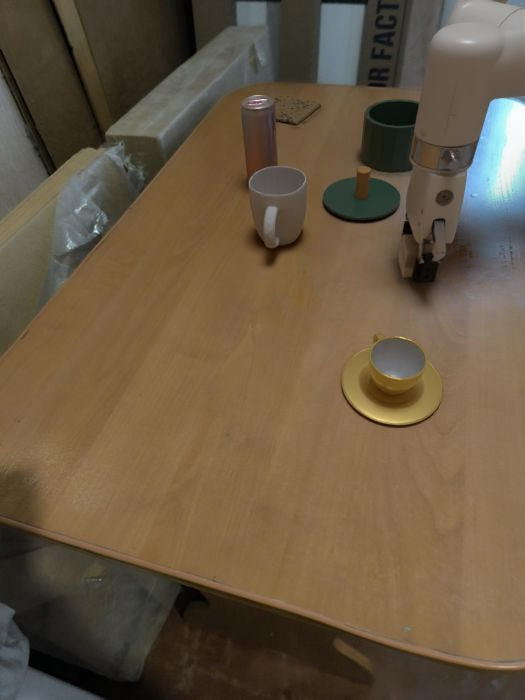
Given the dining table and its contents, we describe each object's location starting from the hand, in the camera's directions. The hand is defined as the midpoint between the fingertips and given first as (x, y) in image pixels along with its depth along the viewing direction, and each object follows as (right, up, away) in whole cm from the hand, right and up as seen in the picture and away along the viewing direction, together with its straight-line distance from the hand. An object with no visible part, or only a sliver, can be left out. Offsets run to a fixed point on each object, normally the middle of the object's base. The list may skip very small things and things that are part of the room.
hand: (416, 261), depth 68 cm
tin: (+3, +26, +24) cm, 35 cm away
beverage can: (-23, +19, +20) cm, 36 cm away
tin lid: (-5, +14, +13) cm, 20 cm away
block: (0, -1, +1) cm, 1 cm away
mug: (-21, +5, +8) cm, 23 cm away
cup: (-8, -18, -13) cm, 23 cm away
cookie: (-17, +44, +41) cm, 63 cm away
